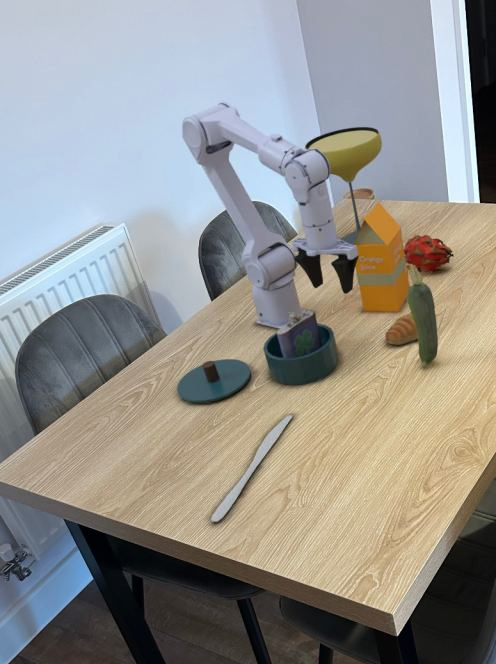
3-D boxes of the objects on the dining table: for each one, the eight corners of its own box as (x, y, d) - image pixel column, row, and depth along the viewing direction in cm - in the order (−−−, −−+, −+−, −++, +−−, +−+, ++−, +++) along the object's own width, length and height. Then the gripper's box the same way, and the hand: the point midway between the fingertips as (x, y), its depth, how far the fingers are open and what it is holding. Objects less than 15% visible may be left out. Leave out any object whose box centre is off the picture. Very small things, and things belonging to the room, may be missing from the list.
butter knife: (203, 518, 112) (219, 520, 111) (281, 414, 132) (296, 414, 130) (204, 521, 113) (220, 523, 111) (282, 417, 132) (297, 417, 131)
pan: (256, 376, 145) (249, 351, 142) (302, 342, 152) (295, 318, 149) (307, 391, 137) (300, 365, 134) (353, 354, 144) (347, 329, 141)
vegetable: (445, 359, 137) (431, 256, 125) (439, 372, 134) (424, 268, 122) (421, 359, 138) (405, 257, 127) (415, 372, 135) (398, 269, 124)
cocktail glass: (311, 248, 192) (288, 149, 177) (361, 221, 200) (343, 124, 186) (360, 261, 180) (339, 155, 165) (411, 231, 188) (396, 128, 174)
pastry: (401, 351, 142) (397, 333, 140) (377, 342, 147) (374, 324, 145) (436, 329, 146) (434, 312, 144) (412, 321, 151) (410, 304, 149)
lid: (163, 395, 146) (156, 375, 143) (217, 358, 154) (210, 338, 151) (212, 412, 137) (205, 392, 135) (266, 372, 145) (260, 352, 143)
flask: (293, 376, 141) (279, 326, 135) (283, 372, 143) (268, 322, 137) (327, 352, 146) (315, 303, 140) (317, 349, 148) (304, 300, 142)
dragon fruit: (404, 272, 174) (453, 282, 169) (390, 265, 166) (441, 275, 161) (414, 235, 172) (463, 244, 168) (400, 226, 165) (451, 236, 160)
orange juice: (363, 311, 158) (345, 220, 147) (377, 291, 165) (361, 202, 153) (398, 311, 155) (382, 218, 144) (411, 291, 161) (397, 200, 150)
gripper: (275, 226, 140) (292, 292, 147) (334, 233, 131) (349, 303, 139) (300, 211, 144) (315, 276, 151) (359, 217, 135) (372, 286, 143)
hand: (333, 288), depth 145 cm, fingers open, 7 cm apart
